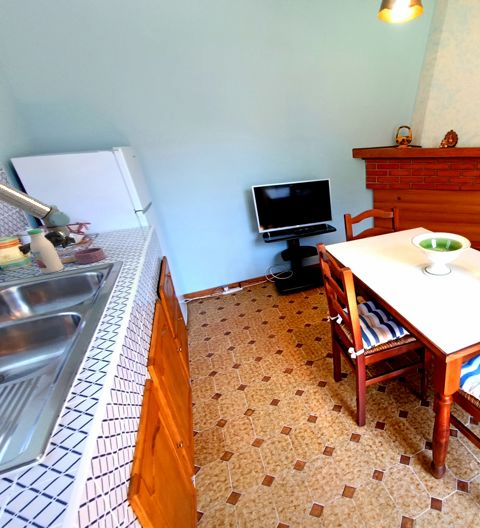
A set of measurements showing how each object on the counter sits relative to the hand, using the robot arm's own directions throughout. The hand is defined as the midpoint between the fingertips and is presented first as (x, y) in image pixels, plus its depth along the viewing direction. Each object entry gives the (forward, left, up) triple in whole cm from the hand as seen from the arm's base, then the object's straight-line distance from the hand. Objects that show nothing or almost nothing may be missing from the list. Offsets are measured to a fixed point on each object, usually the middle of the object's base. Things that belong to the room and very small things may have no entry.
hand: (43, 248), depth 138 cm
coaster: (+10, +10, -11) cm, 18 cm away
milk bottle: (0, -1, -11) cm, 11 cm away
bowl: (+15, -1, -11) cm, 18 cm away
